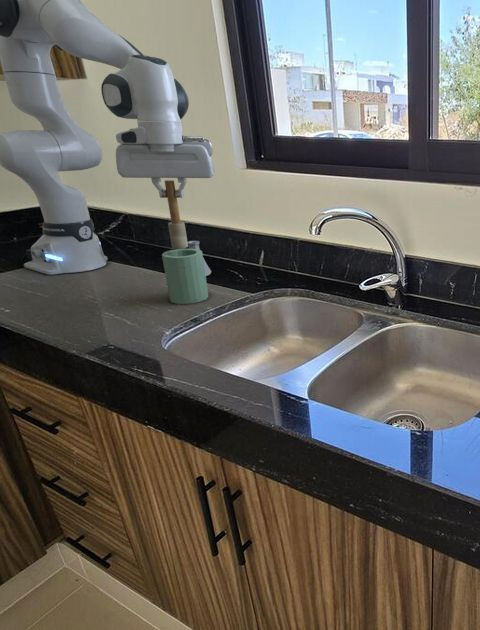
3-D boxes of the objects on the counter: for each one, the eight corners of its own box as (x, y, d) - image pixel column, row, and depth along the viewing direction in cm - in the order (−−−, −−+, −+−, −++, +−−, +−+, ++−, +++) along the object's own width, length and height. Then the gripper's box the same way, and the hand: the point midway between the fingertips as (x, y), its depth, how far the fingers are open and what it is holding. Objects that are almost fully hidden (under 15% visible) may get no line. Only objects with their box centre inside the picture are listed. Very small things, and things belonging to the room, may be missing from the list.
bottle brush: (168, 247, 116) (157, 180, 110) (179, 244, 119) (168, 179, 113) (180, 249, 115) (169, 181, 109) (191, 246, 118) (181, 180, 112)
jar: (162, 301, 120) (153, 255, 115) (188, 290, 128) (181, 247, 123) (191, 306, 117) (183, 259, 113) (215, 294, 125) (209, 250, 121)
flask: (215, 272, 144) (211, 239, 140) (203, 279, 137) (198, 245, 133) (193, 270, 144) (188, 238, 141) (179, 277, 138) (174, 244, 134)
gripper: (212, 136, 113) (220, 195, 118) (117, 134, 108) (129, 195, 113) (208, 137, 107) (216, 199, 112) (107, 134, 103) (120, 199, 108)
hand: (171, 197), depth 113 cm, fingers closed on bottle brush, 2 cm apart
